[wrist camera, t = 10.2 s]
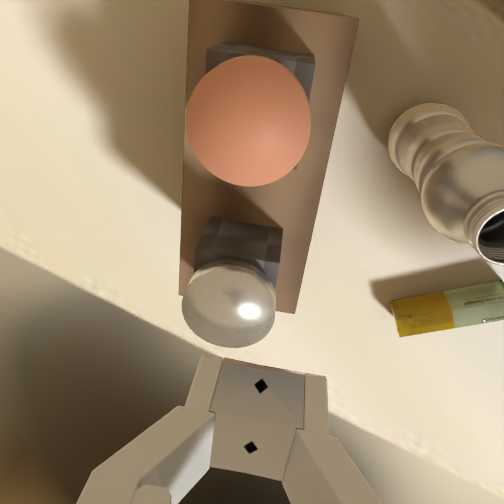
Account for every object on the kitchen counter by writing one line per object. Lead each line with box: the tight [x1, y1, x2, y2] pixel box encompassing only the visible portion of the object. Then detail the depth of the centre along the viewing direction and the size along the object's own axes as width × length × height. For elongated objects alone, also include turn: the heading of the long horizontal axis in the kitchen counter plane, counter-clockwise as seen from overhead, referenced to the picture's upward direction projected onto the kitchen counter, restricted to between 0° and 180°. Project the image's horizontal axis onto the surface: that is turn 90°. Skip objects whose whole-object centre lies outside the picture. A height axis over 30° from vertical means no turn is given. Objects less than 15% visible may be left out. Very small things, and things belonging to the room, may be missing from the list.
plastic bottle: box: [388, 103, 504, 265], centre depth 30 cm, size 6×7×20 cm
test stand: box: [179, 0, 359, 314], centre depth 33 cm, size 10×22×17 cm, turn 173°
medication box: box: [390, 280, 504, 337], centre depth 46 cm, size 12×3×4 cm, turn 109°
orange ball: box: [186, 55, 311, 187], centre depth 23 cm, size 6×6×6 cm
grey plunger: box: [182, 259, 276, 348], centre depth 30 cm, size 6×6×6 cm
